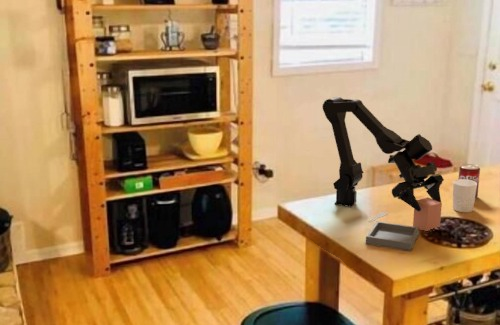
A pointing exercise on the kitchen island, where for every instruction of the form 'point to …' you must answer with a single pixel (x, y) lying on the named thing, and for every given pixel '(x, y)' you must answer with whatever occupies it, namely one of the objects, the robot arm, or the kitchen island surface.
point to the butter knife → (378, 216)
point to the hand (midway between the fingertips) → (430, 208)
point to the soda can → (470, 174)
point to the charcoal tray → (392, 236)
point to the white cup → (464, 195)
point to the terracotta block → (427, 214)
